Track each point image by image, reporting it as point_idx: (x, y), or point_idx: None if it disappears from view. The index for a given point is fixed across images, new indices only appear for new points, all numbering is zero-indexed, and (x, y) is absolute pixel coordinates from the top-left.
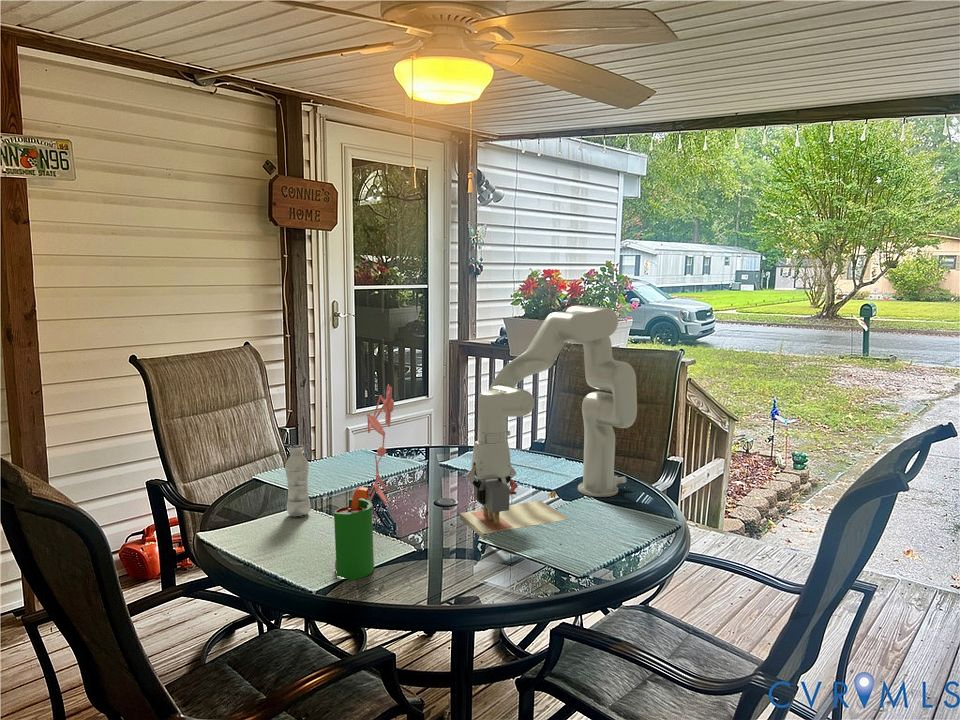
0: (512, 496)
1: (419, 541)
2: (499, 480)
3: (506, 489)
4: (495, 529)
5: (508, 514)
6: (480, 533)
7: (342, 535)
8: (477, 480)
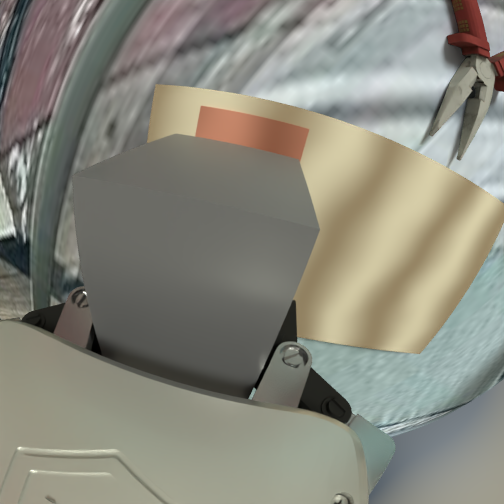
0: (487, 95)
1: (20, 198)
2: (268, 380)
3: None
4: None
5: (333, 229)
6: None
7: None
8: (59, 334)
